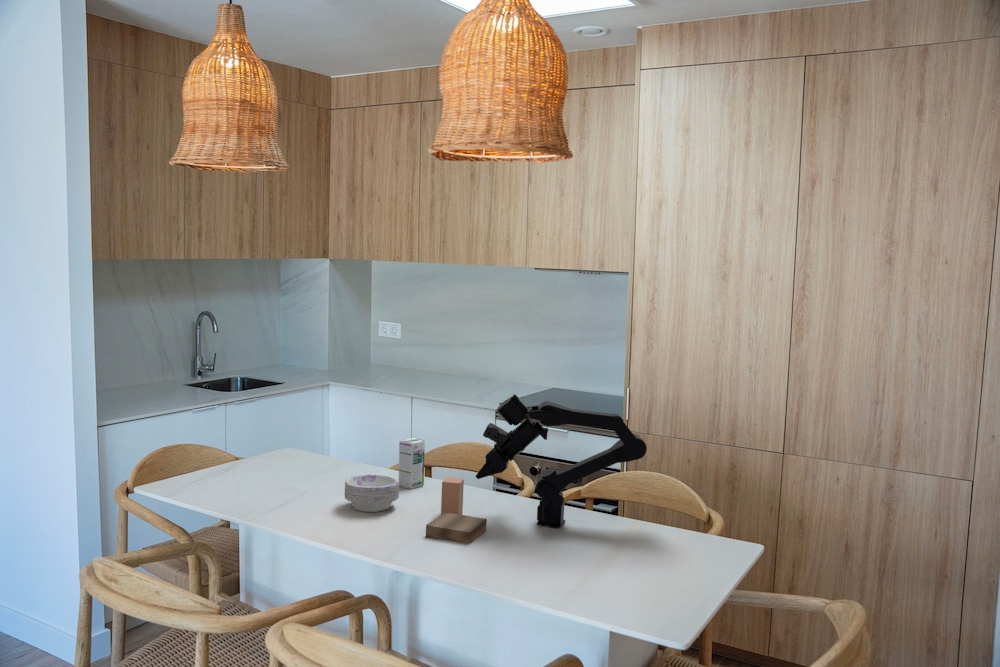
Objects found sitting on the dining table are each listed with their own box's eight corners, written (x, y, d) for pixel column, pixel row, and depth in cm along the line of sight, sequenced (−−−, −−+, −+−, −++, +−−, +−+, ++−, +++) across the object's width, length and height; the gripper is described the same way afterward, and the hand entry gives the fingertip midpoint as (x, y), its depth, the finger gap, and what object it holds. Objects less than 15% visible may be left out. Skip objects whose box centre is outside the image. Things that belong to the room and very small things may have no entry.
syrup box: (411, 489, 250) (413, 443, 248) (397, 485, 253) (399, 439, 252) (424, 485, 254) (425, 440, 253) (410, 482, 258) (411, 437, 256)
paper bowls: (371, 496, 241) (371, 470, 240) (409, 507, 232) (410, 479, 231) (332, 508, 228) (333, 480, 228) (371, 519, 220) (372, 491, 219)
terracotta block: (462, 513, 228) (463, 478, 227) (458, 519, 223) (459, 483, 223) (445, 511, 229) (446, 477, 228) (440, 517, 224) (442, 481, 223)
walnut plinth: (486, 529, 215) (486, 518, 215) (469, 543, 204) (469, 532, 204) (444, 523, 219) (445, 512, 219) (425, 536, 208) (426, 525, 208)
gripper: (507, 409, 231) (467, 444, 233) (495, 421, 212) (452, 459, 215) (533, 438, 230) (493, 473, 233) (524, 453, 212) (480, 491, 214)
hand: (479, 473), depth 224 cm, fingers open, 9 cm apart
